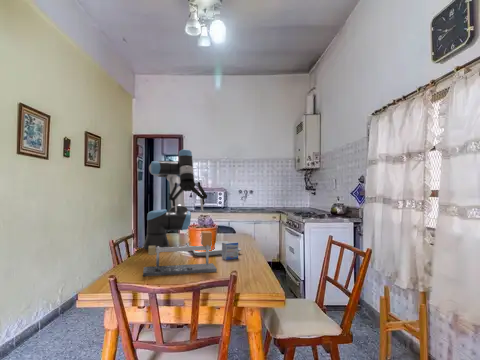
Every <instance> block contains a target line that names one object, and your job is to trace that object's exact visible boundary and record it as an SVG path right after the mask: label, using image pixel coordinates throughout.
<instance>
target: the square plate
mask: <svg viewBox="0 0 480 360" xmlns="http://www.w3.org/2000/svg"><path fill="white" fill-rule="evenodd" d="M226 242H229V241H227V240H216V243H215V249H214V250H212V251H209V257H211V256H222V243H226ZM189 243H190V242H187V243H185V245H186V246H189ZM241 251H242V248H241V247H239V246H238V253H240V252H241ZM192 253H193V254H194V255H195V256H196V257H206V252H198V251H195V250H193V251H192Z"/></svg>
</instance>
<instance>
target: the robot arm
mask: <svg viewBox="0 0 480 360" xmlns="http://www.w3.org/2000/svg"><path fill="white" fill-rule="evenodd" d="M193 164H194V162H193V154H192V151H191V150H190V149H187V148H185V149H184V148H183V149H181V150H179V152H178V160H175V161H173V160H155V161H154V160H153V161H151V163H150V164H149V166H148V171H149V173H150V175H153V177H154V176H155V177H157V178H158V177H159V178H166V180H167V181H168V182H169V197H168V200H169V201H170V204H171V205H170V207H171V208H170V209H169V211H168V210H167V209H165V208H163V209H155V210H151V211H149V212H148V213H147V216H146V220H147V223H146V224H147V225H146V238H145V241H144V243H143V249H144V250H146V251H148V248H149V246H156V247H157V246H159V247H170V243H169V239H168V236H167V231H183V230H184V231H187V230H188V229H189V228H188V226H189V227H191V226H190V225H191V218H192V213H191V211H190V210H189V211H188V207H186V206H185V205H186V204H185V196H184V192H193V193H194V194H195V195H197V196H198V198H200V200H199V202H200V212H201V213H202V212H204V206H205V205H206V204H205V200H206V199H208V194H207V193H206V191H205V190H204V188H203V187H202V185H201V182H200V181H198V182H195V178H194V166H193ZM196 187H197V188H198V189H197V188H196Z"/></svg>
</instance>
